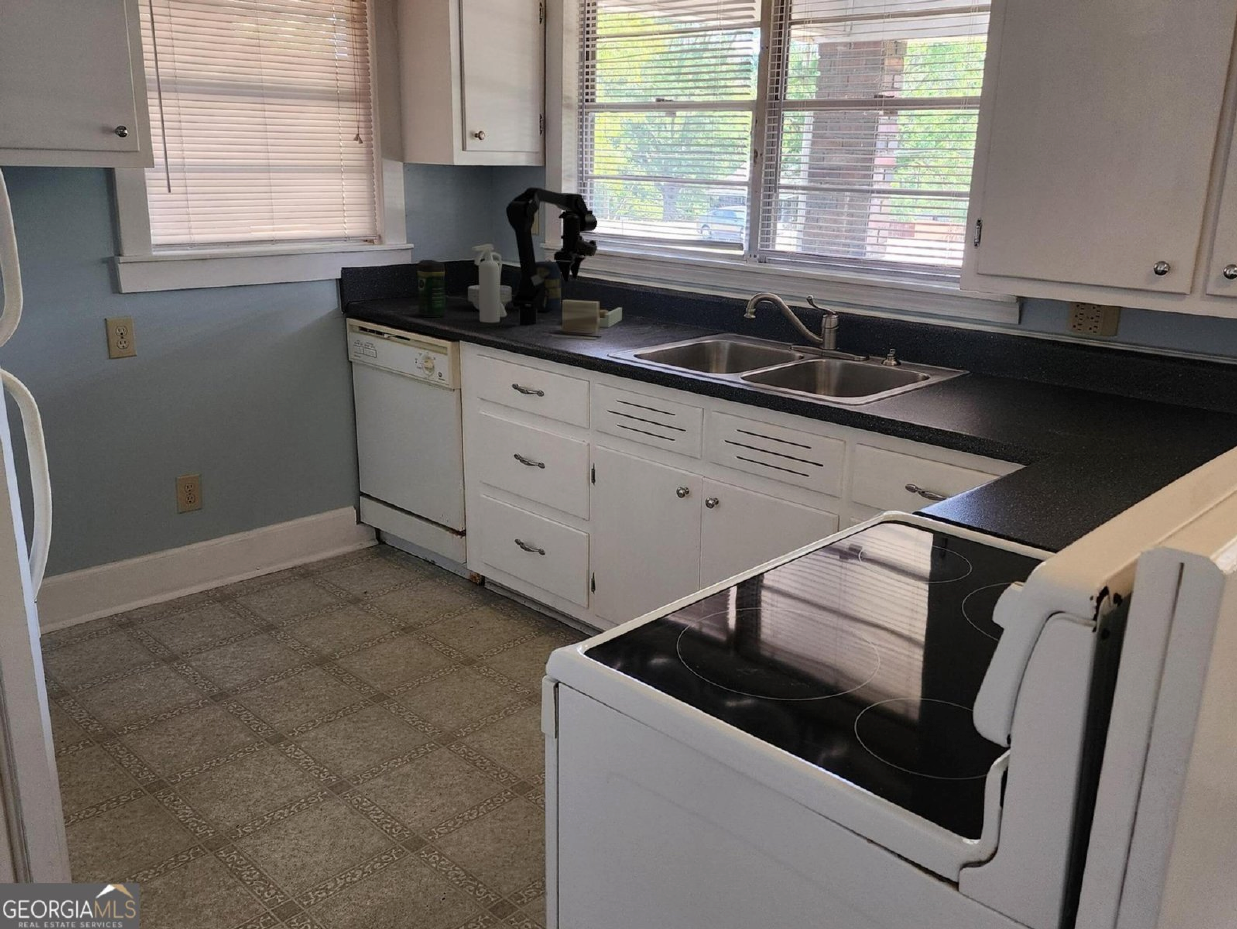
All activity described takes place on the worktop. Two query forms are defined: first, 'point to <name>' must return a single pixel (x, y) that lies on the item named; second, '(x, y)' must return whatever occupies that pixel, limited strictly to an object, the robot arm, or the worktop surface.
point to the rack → (611, 318)
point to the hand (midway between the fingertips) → (570, 280)
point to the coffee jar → (431, 288)
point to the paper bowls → (504, 297)
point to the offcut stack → (602, 313)
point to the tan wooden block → (580, 316)
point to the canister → (550, 284)
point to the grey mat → (576, 336)
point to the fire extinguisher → (489, 285)
